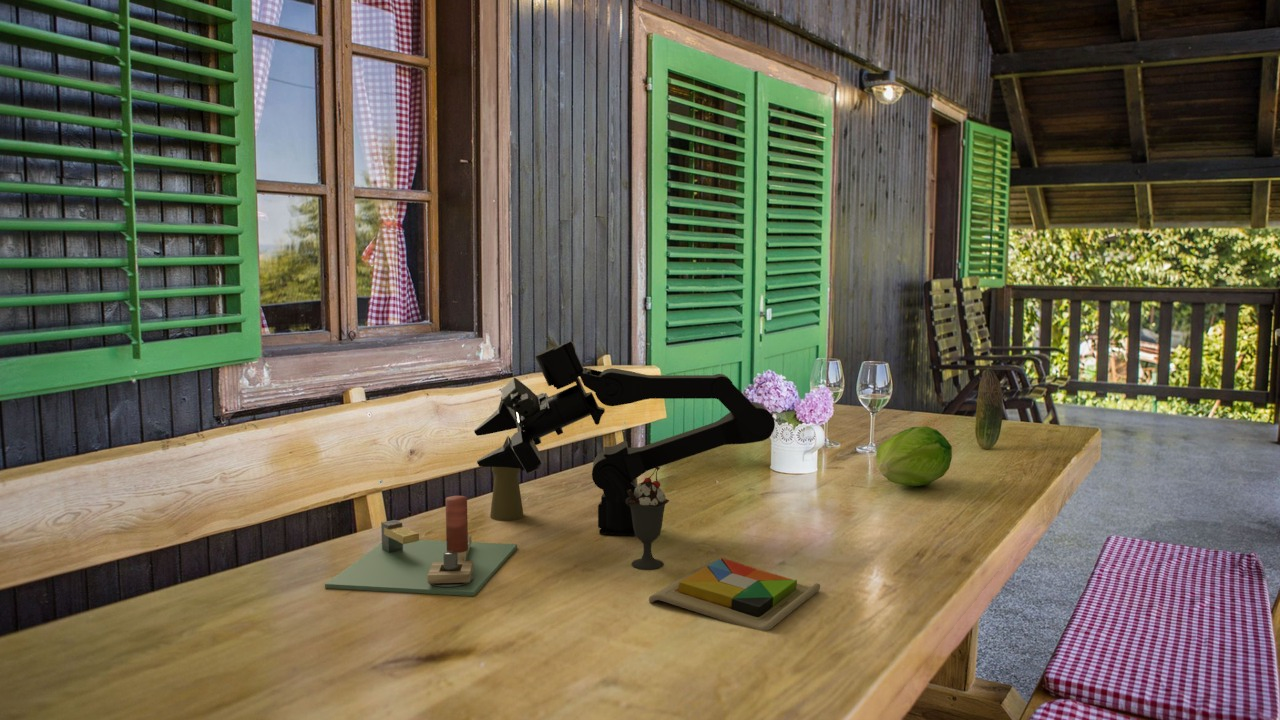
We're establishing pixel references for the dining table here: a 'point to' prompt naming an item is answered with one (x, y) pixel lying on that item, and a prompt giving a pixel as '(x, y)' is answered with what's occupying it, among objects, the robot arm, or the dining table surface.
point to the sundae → (647, 518)
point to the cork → (506, 494)
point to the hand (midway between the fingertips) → (476, 448)
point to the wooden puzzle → (737, 594)
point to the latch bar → (455, 544)
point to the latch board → (419, 568)
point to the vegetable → (988, 410)
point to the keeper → (396, 536)
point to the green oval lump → (914, 456)
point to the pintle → (451, 569)
